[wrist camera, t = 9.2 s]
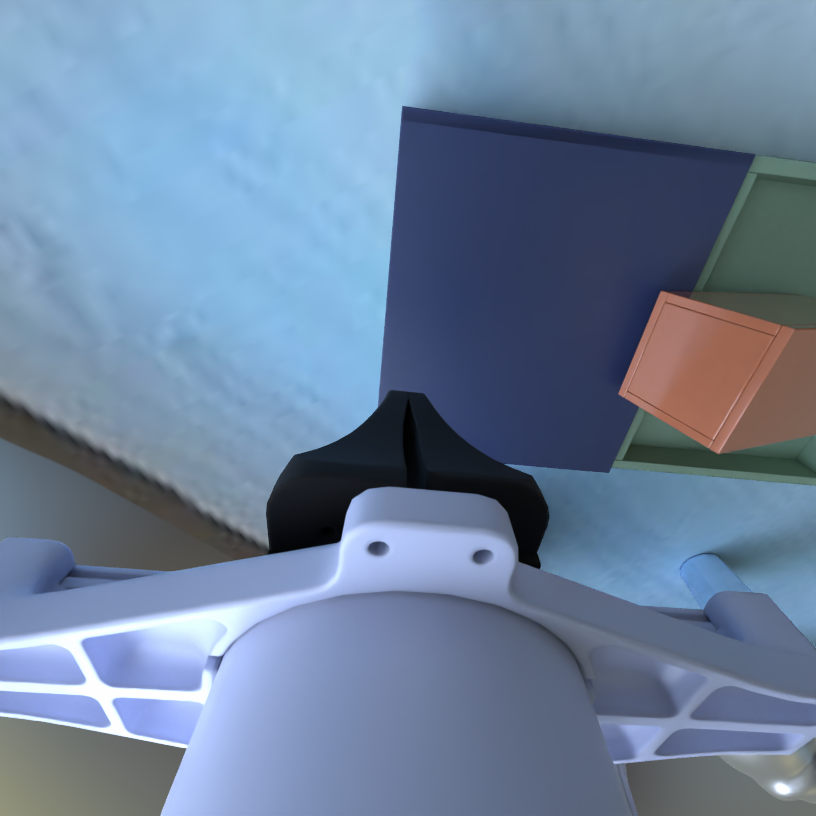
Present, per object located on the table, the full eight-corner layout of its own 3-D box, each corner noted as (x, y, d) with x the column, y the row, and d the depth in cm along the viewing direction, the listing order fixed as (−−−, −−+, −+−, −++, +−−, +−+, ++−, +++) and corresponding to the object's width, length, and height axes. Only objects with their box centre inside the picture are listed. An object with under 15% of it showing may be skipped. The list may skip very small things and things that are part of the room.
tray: (792, 462, 27) (826, 486, 24) (592, 444, 26) (609, 467, 24) (990, 196, 19) (1067, 196, 16) (711, 158, 18) (753, 154, 16)
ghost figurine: (686, 696, 42) (758, 827, 34) (653, 659, 39) (725, 796, 30) (774, 668, 40) (878, 804, 31) (748, 626, 36) (857, 766, 27)
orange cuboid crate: (617, 394, 20) (718, 454, 15) (660, 290, 17) (795, 328, 13) (743, 381, 23) (853, 428, 19) (794, 293, 20) (935, 324, 16)
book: (587, 442, 26) (608, 473, 23) (378, 423, 25) (374, 452, 22) (702, 159, 18) (756, 154, 15) (403, 119, 17) (402, 105, 14)
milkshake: (674, 545, 31) (781, 687, 22) (740, 548, 31) (871, 690, 22) (653, 582, 33) (742, 724, 24) (714, 585, 33) (824, 727, 24)
